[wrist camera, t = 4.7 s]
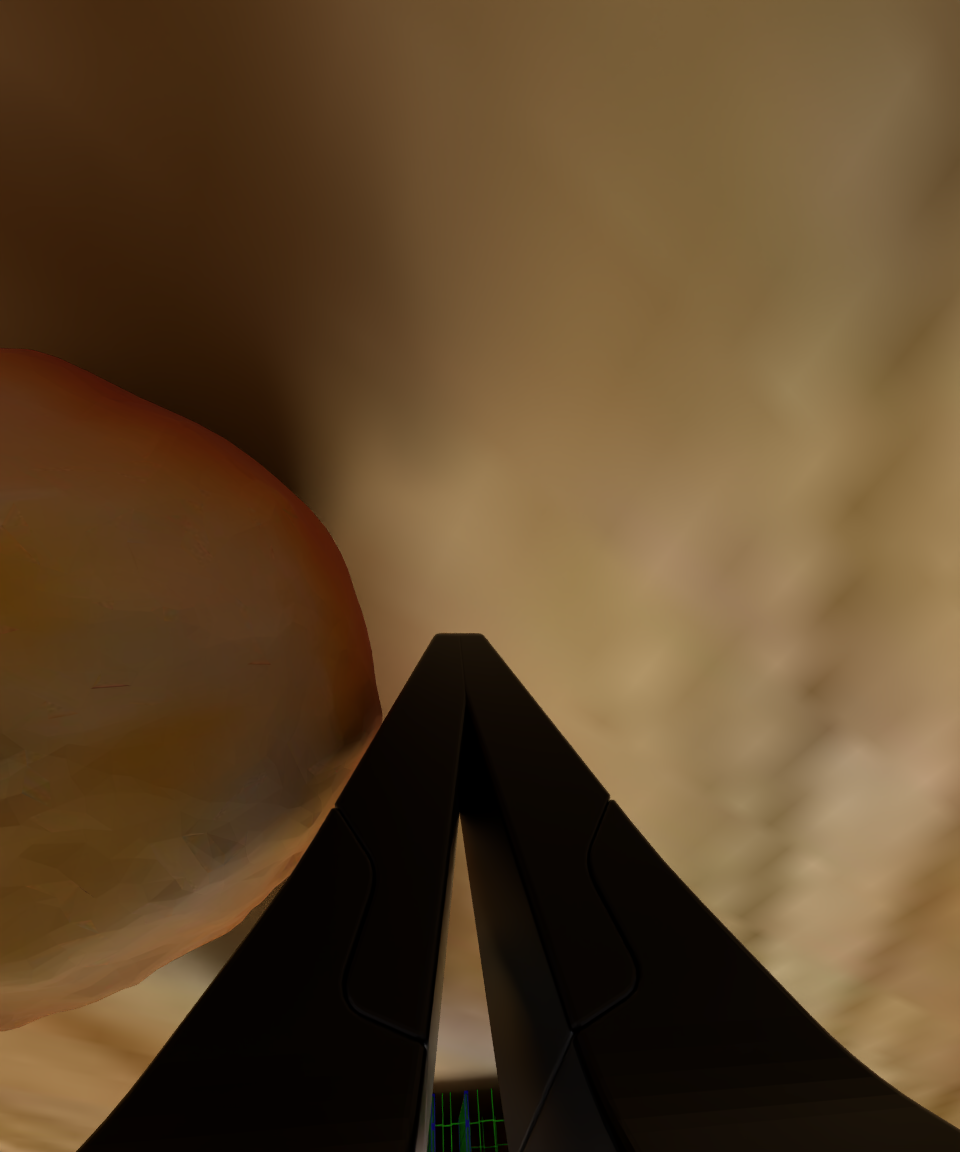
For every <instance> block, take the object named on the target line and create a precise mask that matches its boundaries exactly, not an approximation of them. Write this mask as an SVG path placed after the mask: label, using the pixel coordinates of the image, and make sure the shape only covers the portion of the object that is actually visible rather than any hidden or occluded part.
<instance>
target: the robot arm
mask: <svg viewBox="0 0 960 1152" xmlns="http://www.w3.org/2000/svg"><path fill="white" fill-rule="evenodd" d="M609 800H610V794H609V793H608V792H607V790H606V789H605V788H604V787H603V785H602V784H601V783H600V782H599V780H598V779H597V778H596V777H595V775H594V774H593V773H592V772H591V770H590V769H589V768H588V766H587V765H586V764H585V763H584V761H583V760H582V759H581V758H580V756H579V755H578V754H577V753H576V751H575V750H574V749H573V748H572V746H571V745H570V744H569V742H568V741H567V740H566V739H565V737H564V736H563V735H562V734H561V732H560V731H559V730H558V729H557V727H556V726H555V725H554V724H553V722H552V721H551V720H550V718H549V717H548V716H547V715H546V713H545V712H544V711H543V710H542V708H541V707H540V706H539V705H538V703H537V702H536V701H535V700H534V698H533V697H532V696H531V695H530V693H529V692H528V691H527V689H526V688H525V687H524V686H523V684H522V683H521V682H520V681H519V679H518V678H517V677H516V676H515V674H514V673H513V672H512V671H511V669H510V668H509V667H508V665H507V664H506V663H505V662H504V660H503V659H502V658H501V657H500V655H499V654H498V653H497V652H496V650H495V649H494V648H493V647H492V645H491V644H490V643H489V641H488V640H487V639H486V638H485V636H484V635H482V634H479V633H438V634H436V635H435V636H434V637H433V639H432V640H431V642H430V644H429V646H428V647H427V649H426V651H425V652H424V654H423V656H422V657H421V659H420V661H419V662H418V664H417V666H416V667H415V669H414V671H413V672H412V674H411V676H410V678H409V679H408V681H407V683H406V684H405V686H404V688H403V689H402V691H401V693H400V694H399V696H398V698H397V699H396V701H395V703H394V704H393V706H392V708H391V710H390V711H389V713H388V715H387V716H386V718H385V720H384V721H383V723H382V725H381V726H380V728H379V730H378V731H377V733H376V735H375V736H374V738H373V740H372V742H371V743H370V745H369V747H368V748H367V750H366V752H365V753H364V755H363V757H362V758H361V760H360V762H359V763H358V765H357V767H356V769H355V770H354V772H353V774H352V775H351V777H350V779H349V780H348V782H347V784H346V785H345V787H344V789H343V790H342V792H341V794H340V795H339V797H338V799H337V801H336V802H335V808H332V809H331V810H330V812H329V813H328V815H327V817H326V818H325V820H324V822H323V824H322V825H321V827H320V829H319V830H318V832H317V834H316V835H315V837H314V839H313V840H312V842H311V843H310V845H309V846H308V848H307V849H306V851H305V853H304V854H303V856H302V857H301V859H300V860H299V862H298V864H297V865H296V867H295V868H294V870H293V871H292V873H291V875H290V876H289V878H288V879H287V881H286V882H285V883H284V885H283V886H282V888H281V889H280V890H279V892H278V893H277V895H276V896H275V897H274V899H273V900H272V902H271V903H270V904H269V906H268V907H267V909H266V910H265V911H264V913H263V914H262V916H261V917H260V918H259V920H258V921H257V923H256V924H255V925H254V927H253V928H252V929H251V931H250V932H249V933H248V935H247V936H246V937H245V939H244V940H243V941H242V943H241V944H240V945H239V947H238V948H237V949H236V951H235V952H234V953H233V955H232V956H231V957H230V959H229V960H228V961H227V963H226V964H225V965H224V967H223V968H222V969H221V971H220V972H219V973H218V975H217V976H216V977H215V979H214V980H213V981H212V983H211V984H210V985H209V987H208V988H207V989H206V991H205V992H204V993H203V995H202V996H201V997H200V999H199V1000H198V1001H197V1003H196V1004H195V1005H194V1007H193V1008H192V1009H191V1011H190V1012H189V1013H188V1014H187V1016H186V1017H185V1018H184V1020H183V1021H182V1022H181V1024H180V1025H179V1026H178V1028H177V1029H176V1030H175V1032H174V1033H173V1034H172V1036H171V1037H170V1038H169V1040H168V1041H167V1042H166V1044H165V1045H164V1046H163V1048H162V1049H161V1050H160V1052H159V1053H158V1054H157V1056H156V1057H155V1058H154V1060H153V1061H152V1062H151V1064H150V1065H149V1066H148V1068H147V1069H146V1070H145V1071H144V1073H143V1074H142V1075H141V1076H140V1078H139V1079H138V1080H137V1082H136V1083H135V1084H134V1085H133V1087H132V1088H131V1089H130V1091H129V1092H128V1093H127V1094H126V1096H125V1097H124V1098H123V1099H122V1100H121V1101H120V1103H119V1104H118V1105H117V1106H116V1107H115V1109H114V1110H113V1111H112V1112H111V1113H110V1115H109V1116H108V1117H107V1118H106V1119H105V1121H104V1122H103V1123H102V1124H101V1125H100V1126H99V1127H98V1128H97V1129H96V1130H95V1132H94V1133H93V1134H92V1135H91V1136H90V1137H89V1138H88V1139H87V1140H86V1141H85V1143H84V1144H83V1145H82V1146H81V1147H80V1148H79V1149H78V1150H77V1151H76V1152H427V1145H428V1134H429V1124H430V1114H431V1103H432V1093H433V1082H434V1072H435V1061H436V1051H437V1041H438V1030H439V1020H440V1009H441V999H442V989H443V978H444V968H445V957H446V947H447V937H448V926H449V916H450V905H451V895H452V885H453V874H454V864H455V853H456V843H457V833H458V822H459V812H460V819H461V826H462V833H463V840H464V847H465V854H466V861H467V867H468V874H469V881H470V888H471V895H472V902H473V909H474V916H475V923H476V930H477V937H478V943H479V950H480V957H481V964H482V971H483V978H484V985H485V992H486V999H487V1006H488V1013H489V1019H490V1026H491V1033H492V1040H493V1047H494V1054H495V1061H496V1068H497V1075H498V1082H499V1089H500V1095H501V1102H502V1109H503V1116H504V1123H505V1130H506V1137H507V1144H508V1151H509V1152H960V1129H958V1128H957V1127H955V1126H953V1125H952V1124H950V1123H948V1122H947V1121H945V1120H944V1119H942V1118H940V1117H939V1116H937V1115H936V1114H934V1113H932V1112H931V1111H929V1110H927V1109H926V1108H924V1107H923V1106H921V1105H920V1104H918V1103H916V1102H915V1101H913V1100H912V1099H910V1098H909V1097H907V1096H906V1095H904V1094H903V1093H901V1092H900V1091H899V1090H897V1089H896V1088H894V1087H893V1086H892V1085H890V1084H889V1083H888V1082H886V1081H885V1080H883V1079H882V1078H881V1077H879V1076H878V1075H877V1074H876V1073H874V1072H873V1071H872V1070H871V1069H869V1068H868V1067H867V1066H866V1065H864V1064H863V1063H862V1062H861V1061H860V1060H858V1059H857V1058H856V1057H855V1056H853V1055H852V1054H851V1053H850V1052H849V1051H848V1050H847V1049H846V1048H844V1047H843V1046H842V1045H841V1044H840V1043H839V1042H838V1041H837V1040H836V1039H834V1038H833V1037H832V1036H831V1035H830V1034H829V1033H828V1032H827V1031H826V1030H825V1029H824V1028H823V1027H822V1026H821V1025H820V1024H819V1023H818V1022H817V1021H816V1020H815V1019H814V1018H813V1017H812V1016H811V1015H810V1014H809V1013H808V1012H807V1011H806V1010H805V1009H804V1008H803V1007H802V1006H801V1005H800V1004H799V1003H798V1002H797V1001H796V1000H795V998H794V997H793V996H792V995H791V994H790V993H789V992H788V991H787V990H786V989H785V988H784V987H783V986H782V985H781V984H780V983H779V982H778V981H777V980H776V979H775V978H774V977H773V976H772V975H771V973H770V972H769V971H768V970H767V969H766V968H765V967H764V966H763V965H762V964H761V963H760V962H759V961H758V960H757V959H756V958H755V957H754V956H753V955H752V954H751V953H750V952H749V951H748V950H747V948H746V947H745V946H744V945H743V944H742V943H741V942H740V941H739V940H738V939H737V938H736V937H735V936H734V935H733V934H732V933H731V932H730V931H729V930H728V929H727V928H726V927H725V926H724V925H723V923H722V922H721V921H720V920H719V919H718V918H717V917H716V916H715V915H714V914H713V913H712V912H711V911H710V910H709V909H708V908H707V907H706V906H705V905H704V904H703V903H702V902H701V900H700V899H699V898H698V897H697V896H696V895H695V894H694V893H693V892H692V891H691V890H690V889H689V887H688V886H687V885H686V884H685V883H684V882H683V881H682V880H681V879H680V878H679V877H678V876H677V874H676V873H675V872H674V871H673V870H672V869H671V868H670V867H669V866H668V865H667V864H666V862H665V861H664V860H663V859H662V858H661V857H660V855H659V854H658V853H657V852H656V851H655V849H654V848H653V847H652V846H651V845H650V843H649V842H648V841H647V840H646V839H645V837H644V836H643V835H642V834H641V833H640V831H639V830H638V829H637V828H636V827H635V825H634V824H633V823H632V822H631V821H630V819H629V818H628V817H627V816H626V814H625V813H624V812H623V810H622V809H621V808H620V807H619V805H618V804H617V803H616V801H615V800H610V801H609Z"/></svg>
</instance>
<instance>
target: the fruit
mask: <svg viewBox="0 0 960 1152" xmlns="http://www.w3.org/2000/svg"><path fill="white" fill-rule="evenodd" d="M381 724H382V710H381V705H380V700H379V696H378V691H377V686H376V680H375V673H374V665H373V657H372V650H371V646H370V641H369V637H368V632H367V628H366V624H365V621H364V617H363V614H362V611H361V608H360V605H359V602H358V599H357V597H356V594H355V591H354V588H353V584H352V581H351V578H350V575H349V572H348V569H347V566H346V564H345V562H344V559H343V557H342V555H341V553H340V551H339V549H338V547H337V546H336V544H335V542H334V540H333V538H332V537H331V535H330V534H329V532H328V531H327V529H326V528H325V526H324V525H323V524H322V523H321V522H320V520H319V519H318V518H317V517H316V516H315V514H314V513H313V512H312V511H311V510H310V509H309V508H308V507H307V506H306V505H305V504H304V503H303V502H302V501H301V500H300V499H299V498H298V497H297V496H296V495H295V494H294V493H293V492H291V491H290V490H289V489H288V488H287V487H286V486H285V485H284V484H283V483H282V482H281V481H279V480H278V479H277V478H276V477H275V476H274V475H272V474H271V473H270V472H269V471H268V470H266V469H265V468H264V467H263V466H262V465H260V464H259V463H258V462H257V461H255V460H254V459H253V458H252V457H250V456H249V455H247V454H246V453H245V452H243V451H242V450H240V449H239V448H238V447H236V446H235V445H233V444H232V443H231V442H229V441H228V440H226V439H225V438H223V437H221V436H219V435H217V434H216V433H214V432H212V431H210V430H208V429H207V428H205V427H203V426H201V425H199V424H198V423H195V422H193V421H191V420H189V419H187V418H185V417H183V416H181V415H178V414H176V413H174V412H172V411H169V410H167V409H165V408H163V407H160V406H158V405H156V404H154V403H151V402H149V401H147V400H145V399H142V398H140V397H138V396H136V395H134V394H132V393H130V392H128V391H126V390H124V389H122V388H120V387H118V386H116V385H114V384H112V383H110V382H108V381H106V380H104V379H102V378H100V377H98V376H96V375H94V374H92V373H90V372H88V371H86V370H84V369H82V368H80V367H77V366H75V365H73V364H71V363H68V362H66V361H64V360H62V359H60V358H57V357H54V356H51V355H48V354H45V353H42V352H38V351H35V350H29V349H7V348H0V1031H7V1030H11V1029H15V1028H19V1027H21V1026H23V1025H26V1024H28V1023H30V1022H33V1021H35V1020H37V1019H39V1018H42V1017H44V1016H48V1015H51V1014H54V1013H57V1012H62V1011H68V1010H73V1009H77V1008H80V1007H83V1006H86V1005H88V1004H91V1003H94V1002H97V1001H99V1000H101V999H103V998H105V997H107V996H110V995H112V994H114V993H116V992H118V991H121V990H123V989H125V988H129V987H132V986H135V985H137V984H139V983H140V982H141V981H143V980H144V979H145V978H147V977H148V976H149V975H151V974H152V973H153V972H154V971H156V970H157V969H159V968H161V967H163V966H164V965H166V964H168V963H170V962H171V961H173V960H175V959H177V958H179V957H181V956H183V955H184V954H186V953H188V952H190V951H192V950H194V949H196V948H198V947H200V946H202V945H204V944H206V943H208V942H210V941H212V940H214V939H216V938H218V937H220V936H222V935H224V934H226V933H228V932H229V931H231V930H232V929H233V928H234V927H236V926H237V925H238V924H239V923H241V922H242V921H243V920H244V918H245V917H246V916H247V915H248V913H249V912H250V911H251V910H252V909H253V908H255V907H256V906H257V905H259V904H260V903H261V902H262V901H263V900H264V899H265V898H266V897H267V896H268V895H269V893H270V892H271V891H272V890H273V889H274V888H275V887H276V886H277V885H279V884H280V883H281V882H282V881H284V880H285V879H286V878H287V877H288V876H290V875H291V873H292V871H293V870H294V868H295V867H296V865H297V864H298V862H299V860H300V859H301V857H302V856H303V854H304V853H305V851H306V849H307V848H308V846H309V845H310V843H311V842H312V840H313V839H314V837H315V835H316V834H317V832H318V830H319V829H320V827H321V825H322V824H323V822H324V820H325V818H326V817H327V815H328V813H329V812H330V810H331V809H332V808H335V802H336V801H337V799H338V797H339V795H340V794H341V792H342V790H343V789H344V787H345V785H346V784H347V782H348V780H349V779H350V777H351V775H352V774H353V772H354V770H355V769H356V767H357V765H358V763H359V762H360V760H361V758H362V757H363V755H364V753H365V752H366V750H367V748H368V747H369V745H370V743H371V742H372V740H373V738H374V736H375V735H376V733H377V731H378V730H379V728H380V726H381Z"/></svg>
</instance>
